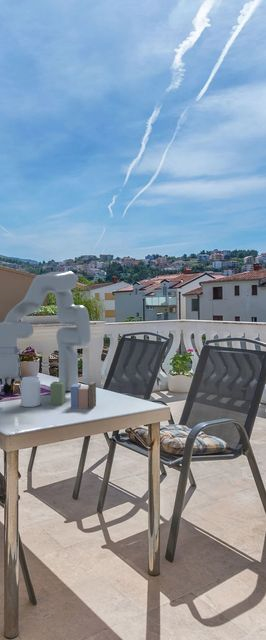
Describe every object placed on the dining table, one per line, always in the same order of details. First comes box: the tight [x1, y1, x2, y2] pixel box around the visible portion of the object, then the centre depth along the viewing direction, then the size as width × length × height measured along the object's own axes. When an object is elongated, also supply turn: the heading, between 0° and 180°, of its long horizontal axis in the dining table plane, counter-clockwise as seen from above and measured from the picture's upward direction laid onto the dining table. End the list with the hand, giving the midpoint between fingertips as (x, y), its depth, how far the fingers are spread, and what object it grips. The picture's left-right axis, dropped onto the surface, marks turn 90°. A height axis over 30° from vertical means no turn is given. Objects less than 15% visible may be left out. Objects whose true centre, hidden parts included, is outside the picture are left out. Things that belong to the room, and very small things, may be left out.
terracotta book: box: [77, 385, 90, 409], centre depth 213 cm, size 6×4×8 cm, turn 175°
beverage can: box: [20, 376, 41, 408], centre depth 215 cm, size 8×8×12 cm
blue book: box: [70, 383, 82, 409], centre depth 214 cm, size 6×3×9 cm, turn 175°
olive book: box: [49, 381, 66, 406], centre depth 220 cm, size 6×5×9 cm
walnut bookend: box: [87, 381, 97, 409], centre depth 213 cm, size 7×2×10 cm, turn 175°
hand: (7, 394), depth 216 cm, fingers closed
